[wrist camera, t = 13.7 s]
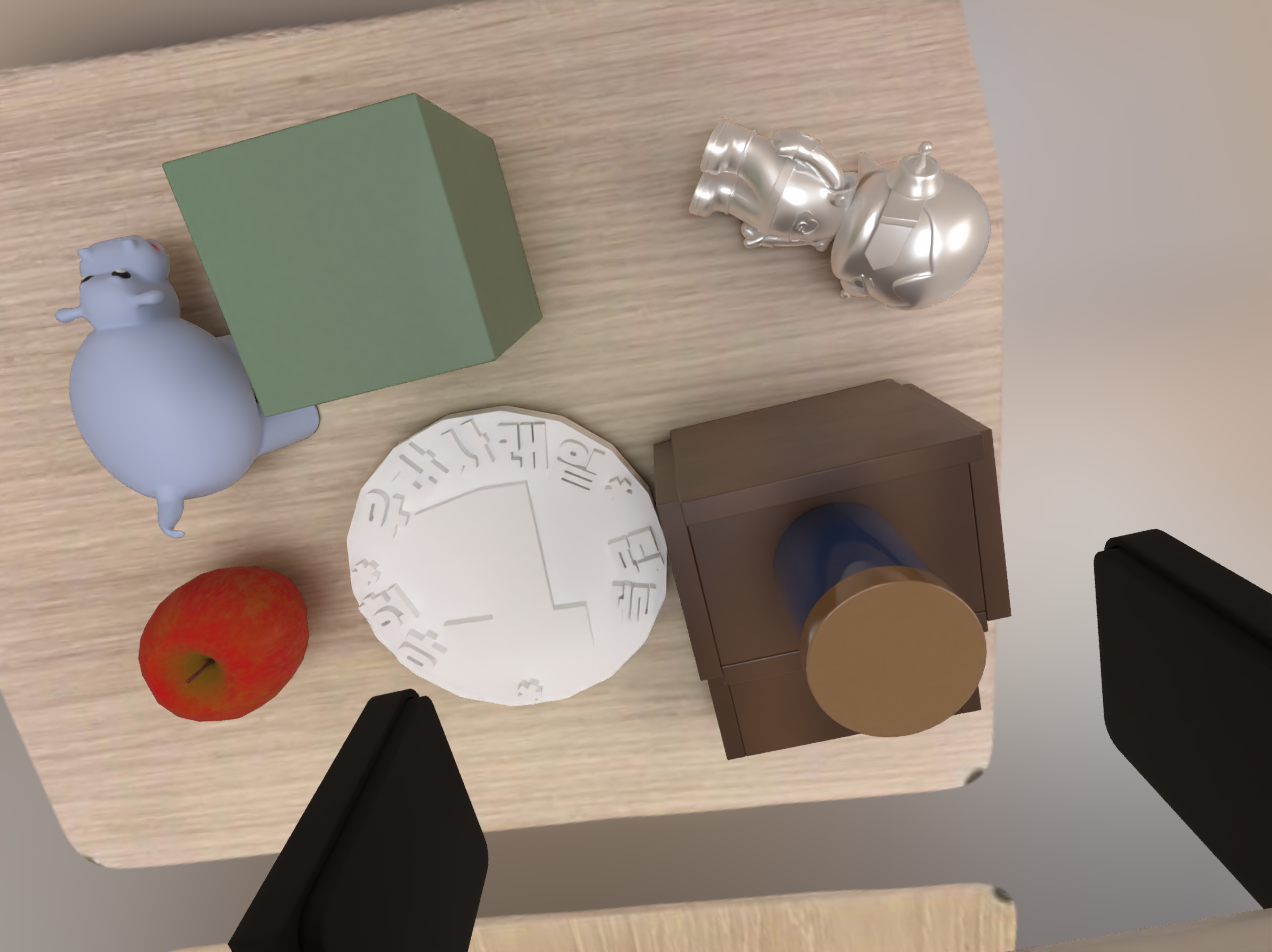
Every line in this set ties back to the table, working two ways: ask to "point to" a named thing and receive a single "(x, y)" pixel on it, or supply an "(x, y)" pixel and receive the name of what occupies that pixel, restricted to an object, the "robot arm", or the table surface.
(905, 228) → the figurine
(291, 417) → the hippopotamus toy
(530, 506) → the white round plaque
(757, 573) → the wooden storage crate
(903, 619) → the jar
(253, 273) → the stand
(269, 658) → the apple
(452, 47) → the table surface
